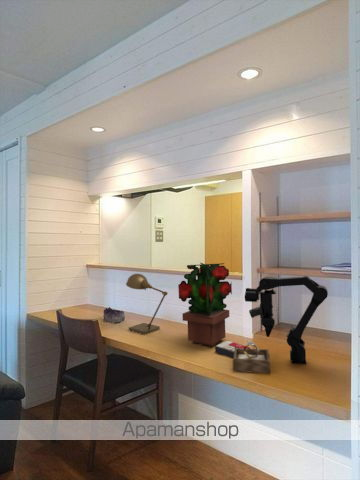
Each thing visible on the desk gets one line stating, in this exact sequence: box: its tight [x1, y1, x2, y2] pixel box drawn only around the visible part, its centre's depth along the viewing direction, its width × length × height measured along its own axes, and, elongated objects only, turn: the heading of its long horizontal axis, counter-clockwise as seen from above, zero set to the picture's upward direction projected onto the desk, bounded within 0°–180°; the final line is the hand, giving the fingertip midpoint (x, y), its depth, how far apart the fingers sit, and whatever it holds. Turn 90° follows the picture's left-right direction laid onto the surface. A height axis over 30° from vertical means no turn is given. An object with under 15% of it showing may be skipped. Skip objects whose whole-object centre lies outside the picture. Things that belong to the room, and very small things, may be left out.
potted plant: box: [178, 262, 233, 348], centre depth 188 cm, size 22×22×45 cm
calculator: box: [214, 340, 252, 358], centre depth 171 cm, size 11×4×15 cm
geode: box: [102, 306, 126, 324], centre depth 243 cm, size 20×12×10 cm, turn 53°
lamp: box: [125, 273, 169, 336], centre depth 213 cm, size 15×34×37 cm, turn 49°
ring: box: [244, 341, 260, 359], centre depth 154 cm, size 7×3×8 cm, turn 58°
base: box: [232, 348, 271, 374], centre depth 154 cm, size 16×14×6 cm
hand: (267, 333), depth 163 cm, fingers open, 9 cm apart
